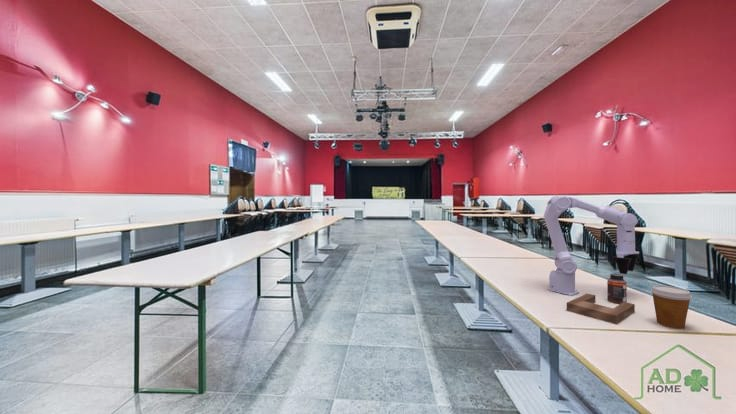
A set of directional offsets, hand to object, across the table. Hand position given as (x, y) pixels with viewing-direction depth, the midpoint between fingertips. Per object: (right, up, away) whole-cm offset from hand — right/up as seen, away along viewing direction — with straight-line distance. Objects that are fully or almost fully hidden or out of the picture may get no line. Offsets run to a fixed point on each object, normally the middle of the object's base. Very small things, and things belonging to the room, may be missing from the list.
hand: (626, 272), depth 121 cm
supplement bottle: (-9, -11, -5) cm, 15 cm away
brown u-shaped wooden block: (-23, -12, -14) cm, 30 cm away
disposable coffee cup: (-10, -12, -27) cm, 31 cm away
